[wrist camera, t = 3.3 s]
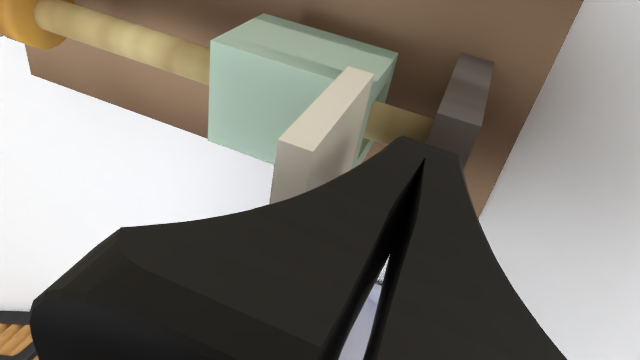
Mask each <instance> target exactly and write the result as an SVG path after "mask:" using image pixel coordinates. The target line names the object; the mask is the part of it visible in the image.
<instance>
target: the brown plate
mask: <svg viewBox="0 0 640 360" xmlns="http://www.w3.org/2000/svg"><path fill="white" fill-rule="evenodd" d="M583 1H584V0H0V37H1V36H5V37H7V38H10V39H12V40H15V41H18V42H21V43H24V44H25V47H26V52H27V57H28V61H29V66H30V70H31V75H34V76H37V77H40V78H42V79H45V80H48V81H51V82H53V83H56V84H59V85H62V86H64V87H67V88H70V89H73V90H75V91H78V92H81V93H84V94H86V95H89V96H92V97H95V98H97V99H100V100H103V101H106V102H108V103H111V104H114V105H117V106H119V107H122V108H125V109H128V110H130V111H133V112H136V113H139V114H141V115H144V116H147V117H150V118H152V119H155V120H158V121H161V122H163V123H166V124H169V125H172V126H174V127H177V128H180V129H183V130H185V131H188V132H191V133H194V134H196V135H199V136H202V137H205V138H207V139H208V114H209V76H210V40H212V39H214V38H216V37H218V36H220V35H222V34H224V33H226V32H228V31H230V30H232V29H234V28H236V27H238V26H240V25H241V24H243V23H245V22H247V21H249V20H251V19H253V18H255V17H257V16H259V15H261V14H263V13H265V14H268V15H272V16H275V17H278V18H282V19H285V20H289V21H292V22H295V23H299V24H302V25H306V26H309V27H312V28H316V29H319V30H322V31H326V32H329V33H333V34H336V35H339V36H343V37H346V38H350V39H353V40H356V41H360V42H363V43H367V44H370V45H373V46H377V47H380V48H383V49H387V50H390V51H394V52H397V53H399V54H398V58H397V61H396V65H395V68H394V72H393V76H392V79H391V83H390V87H389V90H388V94H387V98H386V101H385V103H381V102H378V101H375V100H374V102H373V103H372V105H371V109H370V112H369V116H368V120H367V124H366V128H365V132H364V136H363V138H366V139H369V140H372V141H374V143H373V145H372V147H371V148H370V150H369V152H368V153H367V155H366V157H365V158H364V160H363V162H364V161H366V160H367V159H369V158H371V157H372V156H374V155H375V154H377V153H378V152H379V151H381V150H382V149H384V148H385V147H386V146H388V145H389V144H390V143H391V142H393V141H394V140H395V139H396V138H398V137H400V136H406V137H409V138H412V139H414V140H417V141H420V142H423V143H426V144H429V145H432V146H435V147H438V148H441V149H444V150H447V151H450V152H453V153H456V154H458V155H459V157H460V159H461V161H462V167H463V172H464V177H465V181H466V184H467V188H468V191H469V194H470V198H471V201H472V203H473V206H474V209H475V212H476V215H477V217H478V218H479V216H480V213H481V211H482V209H483V207H484V205H485V203H486V201H487V199H488V197H489V195H490V193H491V191H492V189H493V187H494V185H495V182H496V180H497V178H498V176H499V174H500V172H501V170H502V168H503V166H504V164H505V162H506V160H507V158H508V156H509V154H510V151H511V149H512V147H513V145H514V143H515V141H516V139H517V137H518V135H519V133H520V131H521V129H522V127H523V125H524V123H525V120H526V118H527V116H528V114H529V112H530V110H531V108H532V106H533V104H534V102H535V100H536V98H537V96H538V94H539V92H540V90H541V87H542V85H543V83H544V81H545V79H546V77H547V75H548V73H549V71H550V69H551V67H552V65H553V63H554V61H555V59H556V56H557V54H558V52H559V50H560V48H561V46H562V44H563V42H564V40H565V38H566V36H567V34H568V32H569V30H570V28H571V25H572V23H573V21H574V19H575V17H576V15H577V13H578V11H579V9H580V7H581V5H582V3H583ZM363 162H362V163H363Z"/></svg>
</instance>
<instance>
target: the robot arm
mask: <svg viewBox="0 0 640 360" xmlns="http://www.w3.org/2000/svg"><path fill="white" fill-rule="evenodd" d="M389 255H390V256H389ZM388 257H389V260H388V264H387V268H386V272H385V276H384V280H383V284H382V286H380V285H378V284H375V282H376V280H377V278H378V276H379V274H380V272H381V270H382V268H383V266H384V264H385V262H386V260H387V259H388ZM29 324H30V330H31V336H32V340H33V343H34V346H35V349H36V352H37V355H38V358H39V360H567V359H566V358H565V356H564V355H563V354H562V353H561V352H560V351H559V349H558V348H557V347H556V346H555V344H554V343H553V342H552V341H551V339H550V338H549V337H548V336H547V334H546V333H545V332H544V331H543V329H542V328H541V327H540V325H539V324H538V322H537V321H536V320H535V318H534V317H533V316H532V314H531V313H530V311H529V310H528V309H527V307H526V306H525V304H524V303H523V302H522V300H521V299H520V297H519V296H518V294H517V293H516V291H515V290H514V288H513V287H512V285H511V284H510V282H509V280H508V279H507V277H506V275H505V273H504V272H503V270H502V268H501V267H500V265H499V263H498V261H497V260H496V258H495V256H494V254H493V252H492V250H491V248H490V245H489V243H488V241H487V239H486V237H485V234H484V232H483V230H482V227H481V225H480V222H479V220H478V217H477V215H476V212H475V209H474V206H473V203H472V201H471V198H470V194H469V191H468V188H467V184H466V181H465V177H464V172H463V167H462V161H461V159H460V157H459V155H458V154H456V153H453V152H450V151H447V150H444V149H441V148H438V147H435V146H432V145H429V144H426V143H423V142H420V141H417V140H414V139H412V138H409V137H406V136H400V137H398V138H396V139H395V140H394V141H393V142H391V143H390V144H389V145H388V146H386V147H385V148H384V149H382V150H381V151H379V152H378V153H377V154H375V155H374V156H372V157H371V158H369V159H367V160H366V161H364V162H363V163H361V164H360V165H358V166H356V167H355V168H353V169H351V170H350V171H348V172H346V173H344V174H342V175H340V176H338V177H337V178H335V179H333V180H331V181H329V182H327V183H325V184H323V185H321V186H319V187H316V188H314V189H312V190H310V191H307V192H305V193H302V194H300V195H297V196H295V197H292V198H289V199H287V200H283V201H280V202H276V203H273V204H269V205H266V206H262V207H258V208H255V209H251V210H248V211H243V212H239V213H234V214H229V215H224V216H219V217H213V218H207V219H201V220H194V221H187V222H178V223H167V224H157V225H147V226H136V227H121V228H120V229H119V230H117V231H116V232H115V233H113V234H112V235H111V236H109V237H108V238H106V239H105V240H104V241H102V242H101V243H100V244H98V245H97V246H96V247H95V248H93V249H92V250H91V251H90V252H89V253H88V254H87V255H85V256H84V257H83V258H82V259H81V260H80V261H79V262H77V263H76V264H75V265H74V266H73V267H72V268H71V269H69V270H68V271H67V272H66V273H65V274H64V275H62V276H61V277H60V278H59V279H58V280H57V281H55V282H54V283H53V284H52V285H51V286H50V287H49V288H47V289H46V290H45V291H44V292H43V293H42V294H40V295H39V296H38V297H37V298H36V299H35V300H34V301H33V303H32V307H31V310H30V314H29Z"/></svg>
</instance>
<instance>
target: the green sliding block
mask: <svg viewBox="0 0 640 360" xmlns="http://www.w3.org/2000/svg"><path fill="white" fill-rule="evenodd" d="M398 54H399V53H397V52H394V51H390V50H387V49H383V48H380V47H377V46H373V45H370V44H367V43H363V42H360V41H356V40H353V39H350V38H346V37H343V36H339V35H336V34H333V33H329V32H326V31H322V30H319V29H316V28H312V27H309V26H306V25H302V24H299V23H295V22H292V21H289V20H285V19H282V18H278V17H275V16H272V15H268V14H265V13H263V14H261V15H259V16H257V17H255V18H253V19H251V20H249V21H247V22H245V23H243V24H241V25H240V26H238V27H236V28H234V29H232V30H230V31H228V32H226V33H224V34H222V35H220V36H218V37H216V38H214V39H212V40H210V76H209V114H208V141H211V142H213V143H216V144H219V145H222V146H224V147H227V148H230V149H233V150H235V151H238V152H241V153H244V154H246V155H249V156H252V157H254V158H257V159H260V160H263V161H265V162H268V163H271V164H274V172H273V180H272V188H271V196H270V203H269V204H273V203H276V202H280V201H283V200H287V199H289V198H292V197H295V196H297V195H300V194H302V193H305V192H307V191H310V190H312V189H314V188H316V187H319V186H321V185H323V184H325V183H327V182H329V181H331V180H333V179H335V178H337V177H338V176H340V175H342V174H344V173H346V172H348V171H350V170H351V169H353V168H355V167H356V166H358V165H360V164H361V163H362V162H363V160H364V158H365V157H366V155H367V153H368V152H369V150H370V148H371V147H372V145H373V143H374V141H372V140H369V139H366V138H363V136H364V132H365V128H366V124H367V120H368V116H369V112H370V109H371V105H372V103H373V102H374V100H375V101H378V102H381V103H385V101H386V98H387V94H388V90H389V87H390V83H391V79H392V76H393V72H394V68H395V65H396V61H397V58H398Z"/></svg>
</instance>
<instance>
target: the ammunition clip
mask: <svg viewBox="0 0 640 360" xmlns="http://www.w3.org/2000/svg"><path fill="white" fill-rule="evenodd" d="M29 314H30V312H24V311H0V360H39V358H38V355H37V352H36V349H35V346H34V343H33V340H32V336H31V330H30V324H29Z"/></svg>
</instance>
